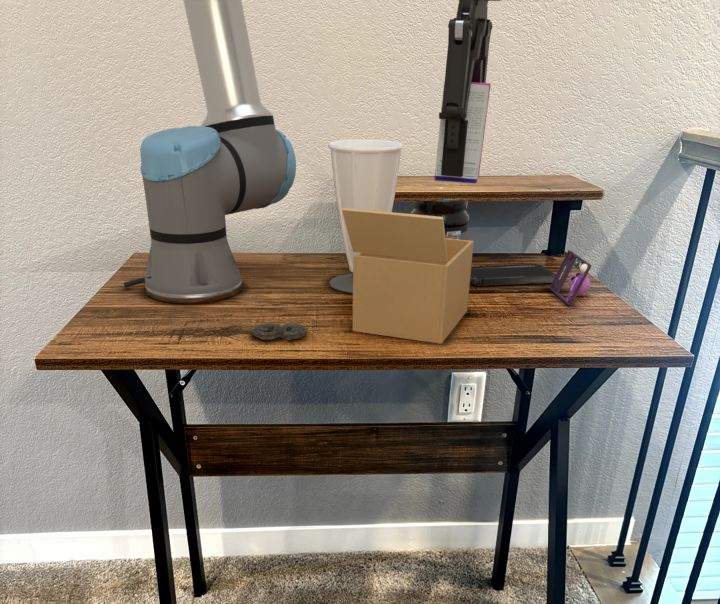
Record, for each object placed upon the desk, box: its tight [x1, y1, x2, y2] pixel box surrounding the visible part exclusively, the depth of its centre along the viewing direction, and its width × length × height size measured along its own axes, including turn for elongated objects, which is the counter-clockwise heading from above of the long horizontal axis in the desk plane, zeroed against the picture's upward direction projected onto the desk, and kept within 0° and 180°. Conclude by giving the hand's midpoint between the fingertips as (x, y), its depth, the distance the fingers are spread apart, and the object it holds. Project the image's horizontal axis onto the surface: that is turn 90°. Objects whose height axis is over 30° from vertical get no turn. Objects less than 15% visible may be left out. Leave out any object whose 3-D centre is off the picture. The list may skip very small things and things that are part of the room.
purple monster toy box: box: [549, 249, 592, 307], centre depth 117 cm, size 7×5×9 cm
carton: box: [352, 238, 475, 345], centre depth 104 cm, size 15×13×10 cm
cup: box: [327, 138, 404, 294], centre depth 117 cm, size 12×12×22 cm
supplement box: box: [433, 82, 492, 184], centre depth 95 cm, size 6×6×12 cm
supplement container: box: [410, 199, 470, 240], centre depth 131 cm, size 10×10×12 cm
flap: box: [342, 208, 448, 262], centre depth 92 cm, size 7×13×1 cm
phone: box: [470, 263, 557, 287], centre depth 126 cm, size 8×1×15 cm
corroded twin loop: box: [249, 322, 309, 341], centre depth 100 cm, size 5×8×1 cm, turn 89°
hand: (458, 171), depth 97 cm, fingers closed on supplement box, 6 cm apart
